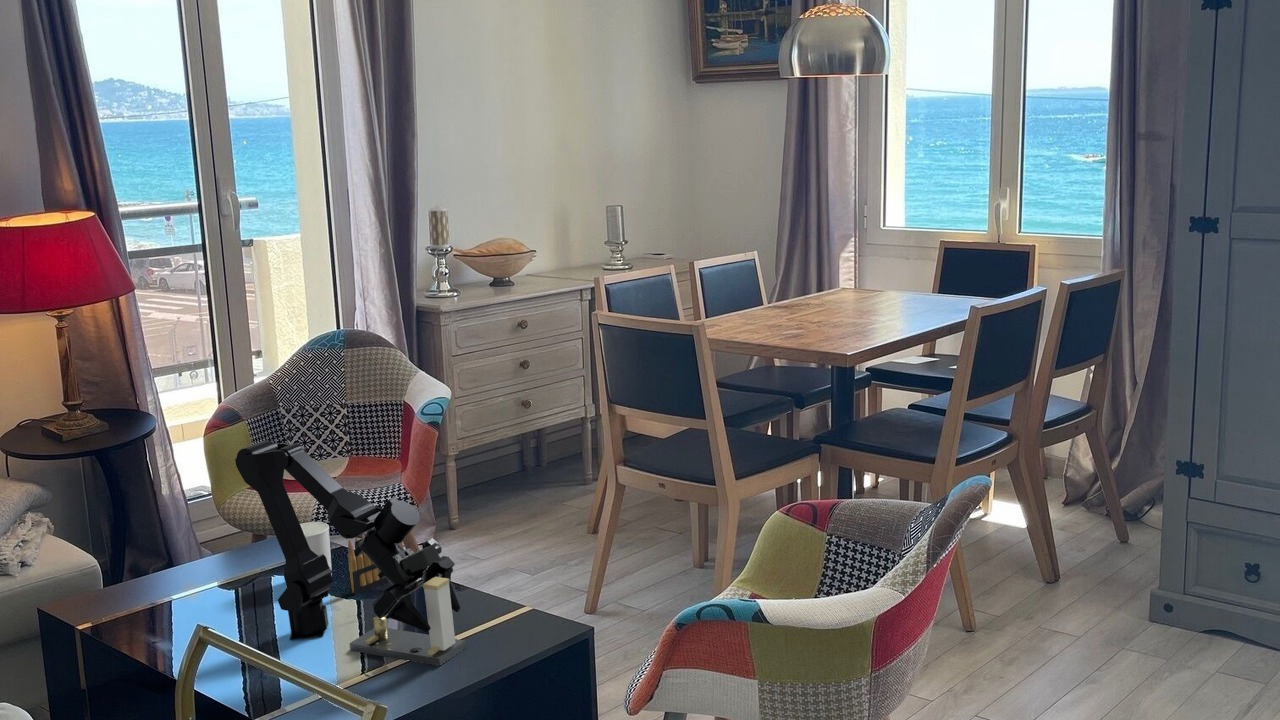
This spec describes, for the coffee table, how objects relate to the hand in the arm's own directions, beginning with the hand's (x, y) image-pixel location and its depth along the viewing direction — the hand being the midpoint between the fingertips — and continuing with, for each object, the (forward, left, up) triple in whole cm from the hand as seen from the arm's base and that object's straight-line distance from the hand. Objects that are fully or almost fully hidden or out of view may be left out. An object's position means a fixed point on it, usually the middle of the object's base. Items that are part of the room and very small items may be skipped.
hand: (444, 620), depth 218 cm
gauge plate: (-8, +5, -7) cm, 12 cm away
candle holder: (-32, +47, -7) cm, 58 cm away
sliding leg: (-1, 0, -5) cm, 6 cm away
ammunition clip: (-18, +40, -7) cm, 45 cm away
